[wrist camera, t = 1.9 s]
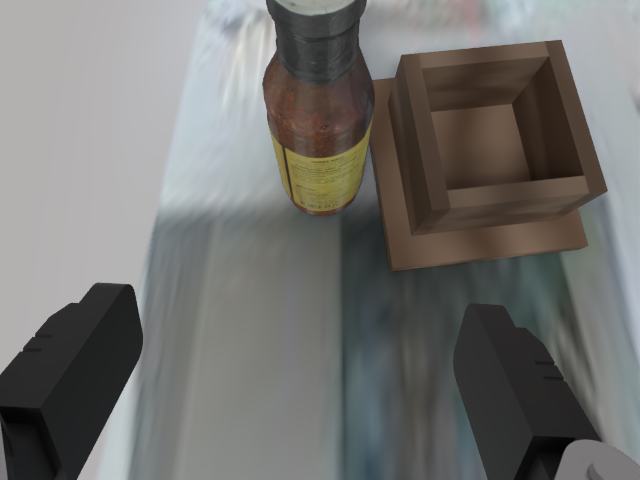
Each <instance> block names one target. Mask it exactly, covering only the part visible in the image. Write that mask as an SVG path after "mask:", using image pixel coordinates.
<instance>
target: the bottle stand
mask: <svg viewBox="0 0 640 480" xmlns="http://www.w3.org/2000/svg"><path fill="white" fill-rule="evenodd" d="M372 81H373V85H374V90H375V106H374V113H373V120H372V125H371V131H370V136H369V145H370V151H371V157H372V163H373V169H374V175H375V182H376V188H377V194H378V200H379V206H380V212H381V218H382V224H383V230H384V236H385V243H386V249H387V255H388V261H389V267H390V271H399V270H407V269H416V268H424V267H433V266H441V265H450V264H458V263H467V262H476V261H484V260H493V259H501V258H510V257H518V256H527V255H536V254H544V253H553V252H561V251H570V250H578V249H581V248H584V247H586V246H588V243H587V240H586V236H585V233H584V229H583V226H582V222H581V218H580V215H579V211H578V207H580V206H582V205H584V204H586V203H587V202H589V201H591V200H593V199H594V198H596V197H598V196H600V195H601V194H603V193H605V192H607V191H608V190H607V187H606V184H605V181H604V177H603V174H602V171H601V168H600V164H599V161H598V158H597V154H596V151H595V148H594V145H593V141H592V138H591V135H590V132H589V128H588V125H587V122H586V119H585V115H584V112H583V109H582V106H581V102H580V99H579V96H578V93H577V89H576V86H575V83H574V80H573V76H572V73H571V70H570V66H569V63H568V60H567V57H566V53H565V50H564V47H563V44H562V40H555V41H544V42H534V43H523V44H512V45H502V46H491V47H481V48H470V49H460V50H449V51H439V52H428V53H418V54H407V55H401V59H400V62H399V66H398V69H397V73H396V76H395V78H390V79H380V80H372Z"/></svg>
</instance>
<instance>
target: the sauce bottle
mask: <svg viewBox="0 0 640 480" xmlns="http://www.w3.org/2000/svg"><path fill="white" fill-rule="evenodd" d="M366 2H367V0H266V4H267V8H268V11H269V13H270V15H271V17H272V19H273V20H274V21H275V29H276V35H277V38H276V46H277V50H276V52H275V54H274V56H273V58H272V59H271V61H270V63H269V65H268V66H267V68H266V71H265V75H264V78H263V83H262V85H263V91H264V100H265V103H266V108H267V120H268V125H269V129H270V133H271V137H272V141H273V145H274V149H275V154H276V158H277V162H278V166H279V170H280V174H281V178H282V182H283V186H284V188H285V191H286V192H287V194H288V196H289V197H290V199H291V200H292V201H293V203H294V205H295V206H296V207H297V208H299V209H301V210H302V211H304V212H306V213H309V214H314V215H319V216H327V215H331V214H335V213H337V212H339V211H341V210H343V209H344V208H346V207H347V206H348V205H349V204H350V203H351V202H352V201H353V199H354V198H355V195H356V193H357V191H358V189H359V187H360V185H361V181H362V176H363V171H364V166H365V160H366V154H367V148H368V143H369V136H370V131H371V125H372V120H373V113H374V106H375V90H374V85H373V81H372V79H371V76H370V73H369V71H368V68H367V65H366V63H365V60H364V57H363V55H362V52H361V49H360V47H359V37H358V33H359V22H360V17H361V16H362V14H363V13H364V10H365V7H366Z"/></svg>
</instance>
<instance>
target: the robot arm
mask: <svg viewBox="0 0 640 480" xmlns="http://www.w3.org/2000/svg"><path fill="white" fill-rule="evenodd" d="M142 345H143V332H142V327H141V322H140V317H139V312H138V307H137V302H136V296H135V292H134V289H133V287H132V286H131V285H129V284H112V283H96V284H94V285H93V286H92V287H91V288H90V290H89V291H88V292H87V294H86V295H85V296H84V297H83V299H82V300H81V301H80V302H79V303H70V304H68V305H67V306H65V307H64V308H62V309H61V310H59V311H58V312H56V313H55V314H53V315H52V316H50V317H49V318H48V319H47V321H46V322H45V323H44V324H43V325H42V326H41V328H40V329H39V330H38V331H37V332H36V333H35V337H32V338H31V339H30V341H29V342H28V343H27V344H26V345H25V346H24V348H23V351H22V352H19V353H18V355H17V356H16V357H15V358H14V359H13V360H12V362H11V363H10V364H9V365H8V367H6V369H5V370H4V371H3V372H2V373H1V375H0V480H77V478H78V476H79V474H80V472H81V470H82V468H83V466H84V464H85V463H86V461H87V458H88V457H89V455H90V453H91V451H92V449H93V447H94V445H95V443H96V441H97V439H98V437H99V435H100V433H101V431H102V430H103V428H104V426H105V424H106V422H107V420H108V418H109V416H110V414H111V412H112V410H113V408H114V406H115V404H116V402H117V401H118V399H119V397H120V395H121V393H122V391H123V389H124V387H125V385H126V383H127V381H128V379H129V377H130V375H131V373H132V371H133V370H134V368H135V366H136V364H137V362H138V360H139V357H140V354H141V351H142ZM453 365H454V374H455V378H456V381H457V384H458V387H459V391H460V394H461V397H462V400H463V403H464V406H465V409H466V412H467V416H468V419H469V422H470V425H471V428H472V431H473V434H474V437H475V441H476V444H477V447H478V450H479V453H480V456H481V459H482V463H483V466H484V469H485V472H486V475H487V478H488V480H640V466H639V465H638V464H637V463H636V462H635V461H634V460H632V459H631V458H630V457H629V456H627V455H626V454H624V453H623V452H621V451H620V450H618V449H616V448H614V447H612V446H610V445H608V444H605V443H602V441H601V439H600V438H599V436H598V434H597V433H596V431H595V429H594V428H593V426H592V424H591V423H590V421H589V419H588V418H587V416H586V414H585V413H584V411H583V409H582V408H581V406H580V404H579V403H578V401H577V399H576V398H575V396H574V394H573V393H572V391H571V389H570V388H569V386H568V384H567V383H566V382H564V380H563V378H564V377H563V376H562V374H561V372H560V371H559V369H558V367H557V366H555V365H554V361H553V359H552V357H551V356H550V354H549V352H548V351H547V349H546V347H545V346H544V344H543V343H542V342H541V341H539V340H538V339H537V338H536V337H535V336H534V335H533V334H532V333H530V332H529V331H528V330H527V329H526V328H516V327H515V325H514V323H513V321H512V319H511V318H510V316H509V314H508V312H507V310H506V309H505V307H504V306H502V305H488V304H469V305H468V306H467V308H466V311H465V314H464V318H463V321H462V325H461V329H460V332H459V336H458V340H457V343H456V347H455V351H454V359H453Z"/></svg>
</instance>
